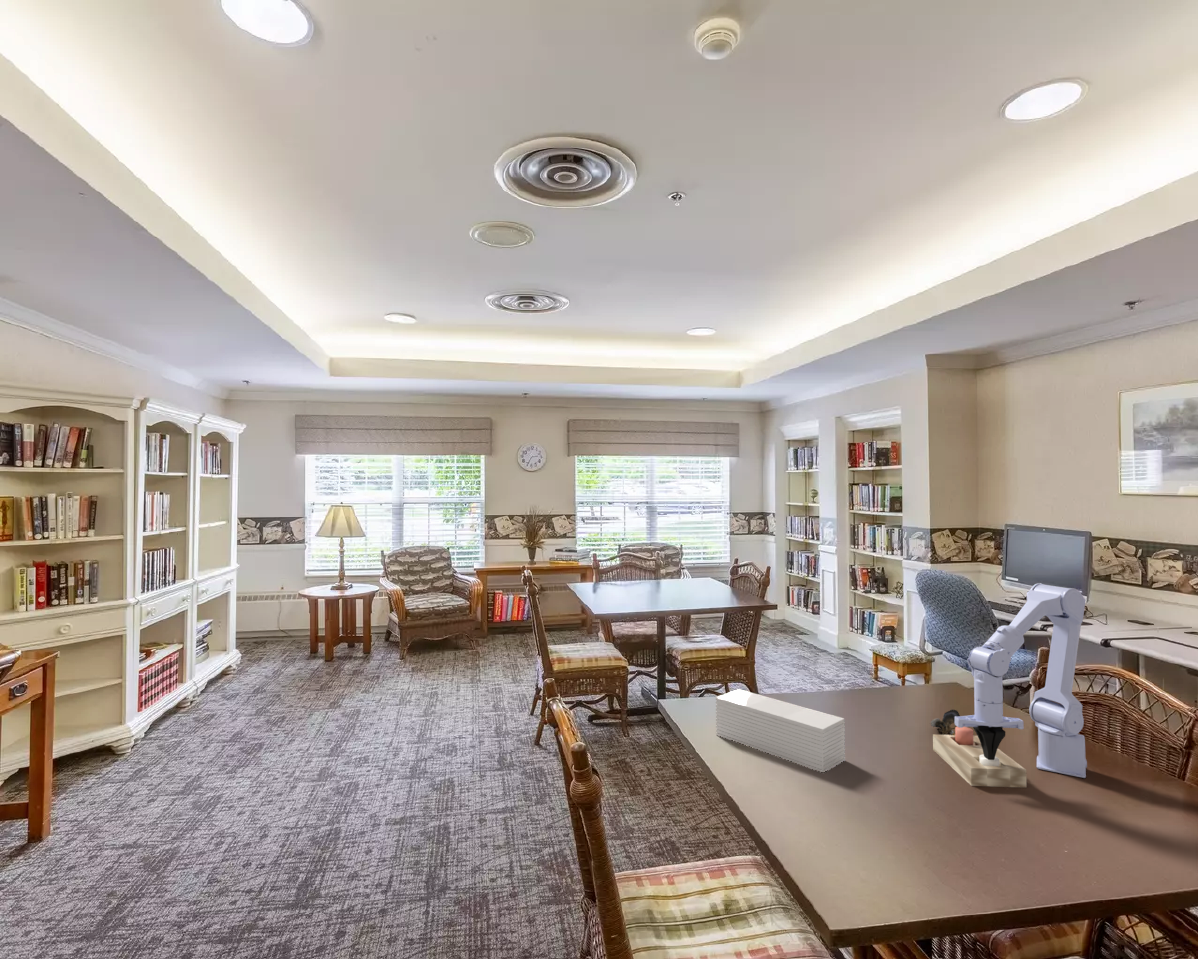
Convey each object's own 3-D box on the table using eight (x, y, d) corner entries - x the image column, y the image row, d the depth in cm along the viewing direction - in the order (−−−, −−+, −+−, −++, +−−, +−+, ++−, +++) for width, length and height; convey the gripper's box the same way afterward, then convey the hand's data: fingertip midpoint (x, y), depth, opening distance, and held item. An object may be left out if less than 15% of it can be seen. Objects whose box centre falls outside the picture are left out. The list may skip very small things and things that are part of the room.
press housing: (981, 751, 164) (981, 735, 164) (1026, 787, 144) (1026, 769, 144) (933, 749, 165) (932, 734, 165) (971, 785, 145) (971, 768, 145)
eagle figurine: (967, 738, 170) (967, 721, 177) (949, 715, 171) (950, 699, 178) (940, 748, 173) (941, 731, 181) (923, 725, 175) (925, 709, 182)
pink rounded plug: (968, 744, 163) (968, 726, 163) (976, 750, 159) (976, 732, 159) (952, 743, 163) (952, 726, 163) (960, 750, 159) (959, 732, 159)
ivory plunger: (993, 773, 151) (993, 754, 151) (1003, 781, 147) (1002, 761, 147) (976, 773, 151) (976, 754, 151) (985, 780, 147) (984, 761, 147)
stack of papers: (845, 761, 159) (844, 718, 159) (823, 774, 152) (822, 729, 152) (739, 726, 183) (738, 688, 183) (716, 736, 176) (715, 697, 176)
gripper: (1011, 695, 152) (1012, 751, 152) (948, 693, 154) (949, 750, 153) (1028, 705, 145) (1029, 764, 145) (962, 703, 147) (963, 762, 146)
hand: (989, 758), depth 149 cm, fingers closed, pressing on ivory plunger
